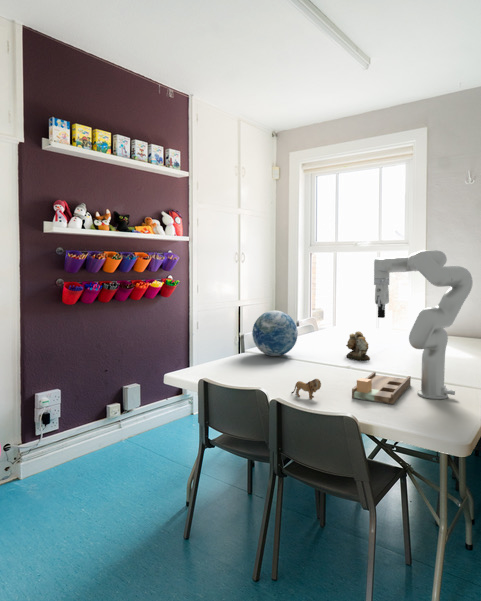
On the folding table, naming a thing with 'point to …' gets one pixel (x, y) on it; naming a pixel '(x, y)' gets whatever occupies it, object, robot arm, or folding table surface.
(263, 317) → the globe
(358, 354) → the brown lumpy sculpture
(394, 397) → the box
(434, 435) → the folding table surface
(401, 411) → the folding table surface
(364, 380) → the block
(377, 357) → the folding table surface
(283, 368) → the folding table surface
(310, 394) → the lion figurine
